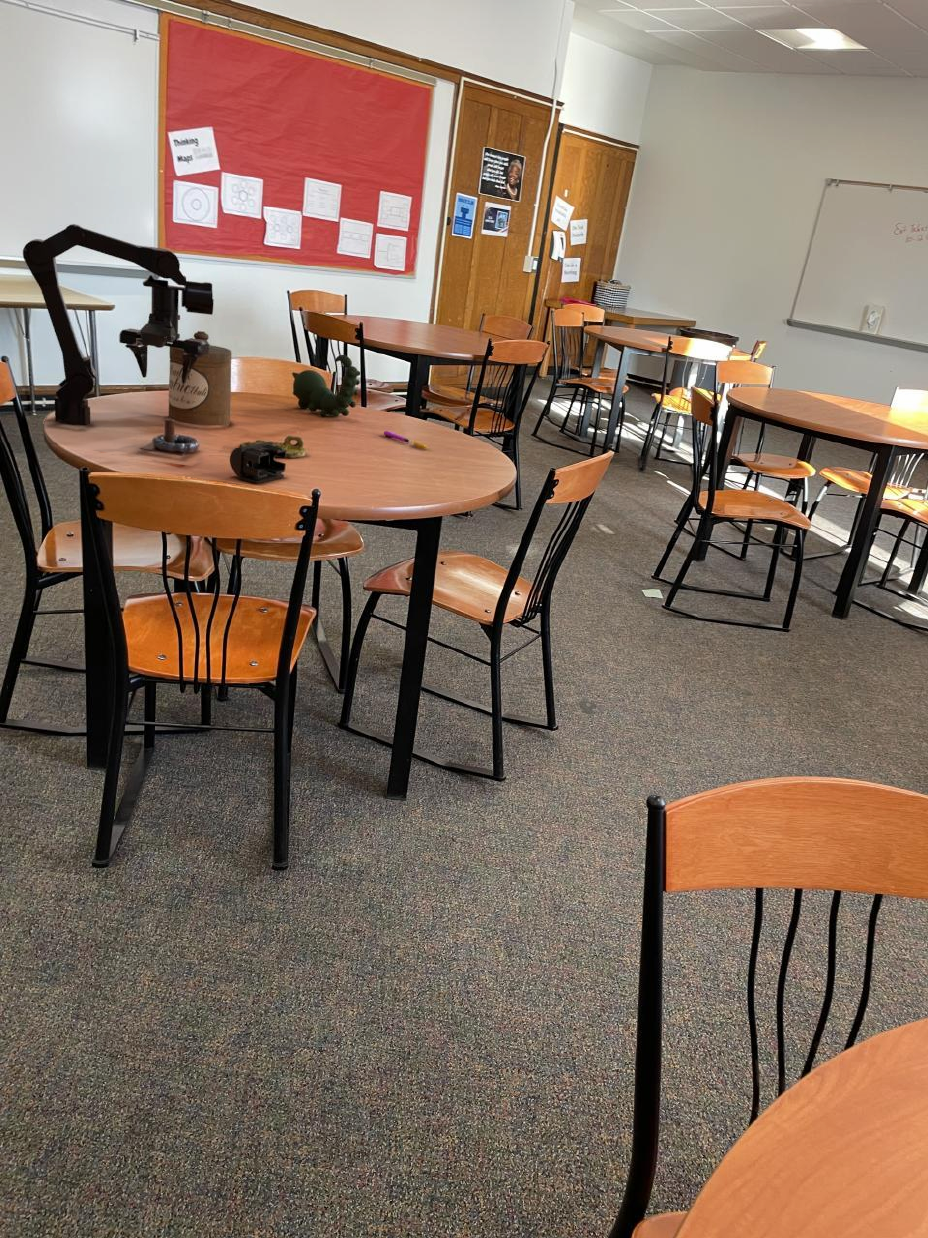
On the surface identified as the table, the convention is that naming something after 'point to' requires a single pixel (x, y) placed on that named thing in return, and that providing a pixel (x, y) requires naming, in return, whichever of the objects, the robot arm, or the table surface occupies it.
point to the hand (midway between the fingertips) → (164, 380)
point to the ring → (176, 444)
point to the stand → (165, 438)
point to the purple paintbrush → (404, 439)
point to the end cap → (258, 462)
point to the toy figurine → (326, 390)
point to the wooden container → (201, 387)
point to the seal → (285, 446)
